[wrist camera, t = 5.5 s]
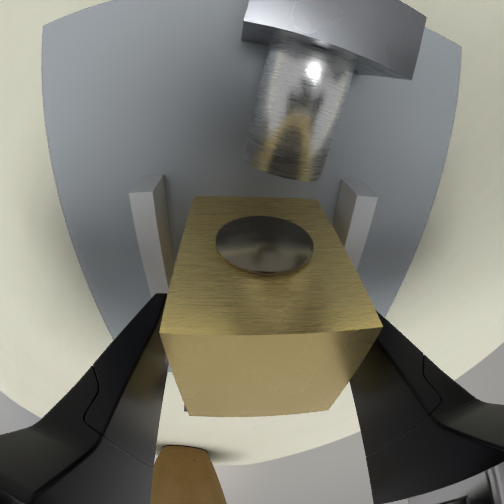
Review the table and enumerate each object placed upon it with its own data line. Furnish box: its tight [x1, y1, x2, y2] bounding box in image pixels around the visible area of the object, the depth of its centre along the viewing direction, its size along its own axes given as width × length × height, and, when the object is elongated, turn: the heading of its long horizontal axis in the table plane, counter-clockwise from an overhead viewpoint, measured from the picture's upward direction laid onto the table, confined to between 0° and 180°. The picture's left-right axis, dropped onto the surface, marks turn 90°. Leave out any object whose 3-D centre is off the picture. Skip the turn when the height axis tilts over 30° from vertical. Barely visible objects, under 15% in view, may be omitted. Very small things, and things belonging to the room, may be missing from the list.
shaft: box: [241, 0, 426, 182], centre depth 6 cm, size 6×4×3 cm
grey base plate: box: [42, 0, 462, 372], centre depth 11 cm, size 16×20×3 cm
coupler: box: [159, 196, 383, 417], centre depth 9 cm, size 5×4×6 cm
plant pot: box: [150, 446, 226, 504], centre depth 29 cm, size 15×15×16 cm
